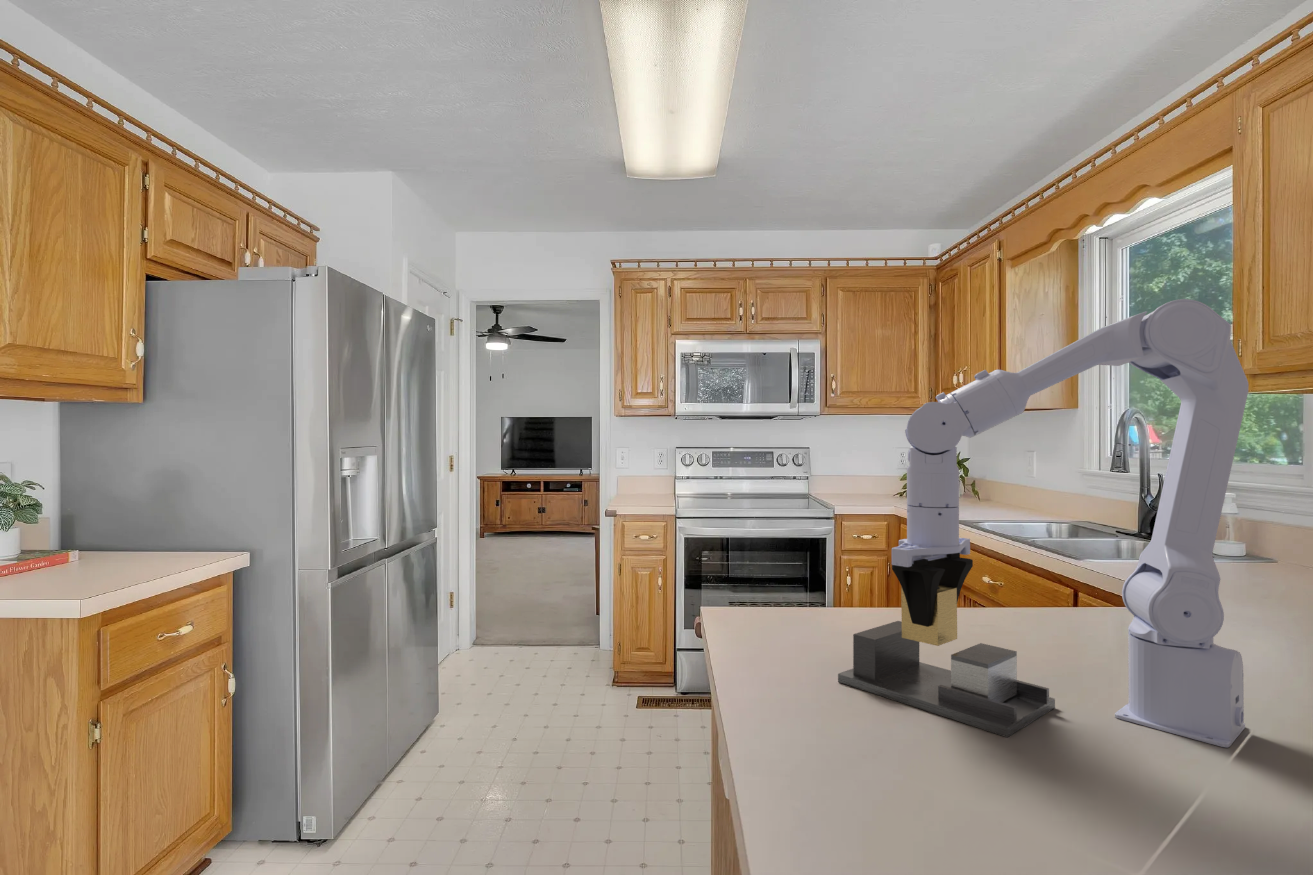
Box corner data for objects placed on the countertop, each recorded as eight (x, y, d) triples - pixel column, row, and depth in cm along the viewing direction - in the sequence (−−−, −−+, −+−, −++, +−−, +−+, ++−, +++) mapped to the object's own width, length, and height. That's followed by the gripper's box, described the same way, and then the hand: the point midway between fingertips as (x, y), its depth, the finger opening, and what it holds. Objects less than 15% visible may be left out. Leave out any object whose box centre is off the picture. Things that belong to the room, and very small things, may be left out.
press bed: (1054, 707, 74) (1054, 653, 74) (1007, 737, 67) (1006, 676, 67) (891, 661, 90) (891, 617, 90) (838, 681, 82) (838, 632, 82)
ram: (1016, 694, 75) (1016, 651, 75) (988, 709, 71) (987, 664, 71) (980, 684, 78) (980, 642, 78) (951, 698, 74) (951, 654, 74)
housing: (957, 638, 79) (956, 587, 79) (938, 645, 76) (937, 592, 76) (921, 630, 83) (921, 581, 83) (901, 637, 80) (901, 586, 80)
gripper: (931, 500, 87) (932, 605, 87) (867, 506, 78) (867, 623, 78) (987, 504, 81) (987, 616, 81) (925, 511, 72) (925, 637, 72)
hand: (932, 620), depth 79 cm, fingers closed on housing, 4 cm apart
